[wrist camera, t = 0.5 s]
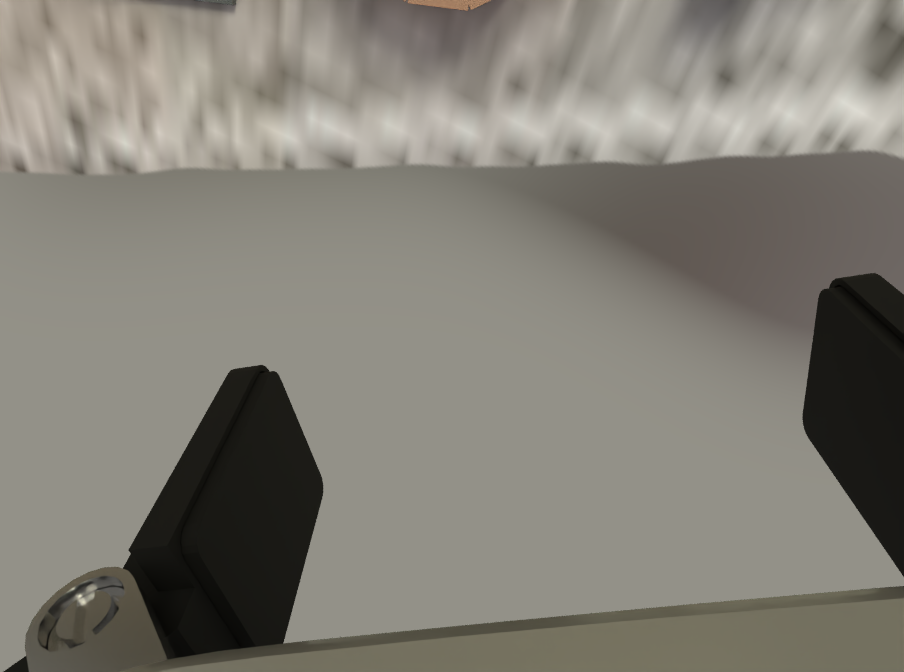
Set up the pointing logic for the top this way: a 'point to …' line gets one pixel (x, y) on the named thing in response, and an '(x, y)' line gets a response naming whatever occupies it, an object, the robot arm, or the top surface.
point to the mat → (221, 1)
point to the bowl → (451, 3)
